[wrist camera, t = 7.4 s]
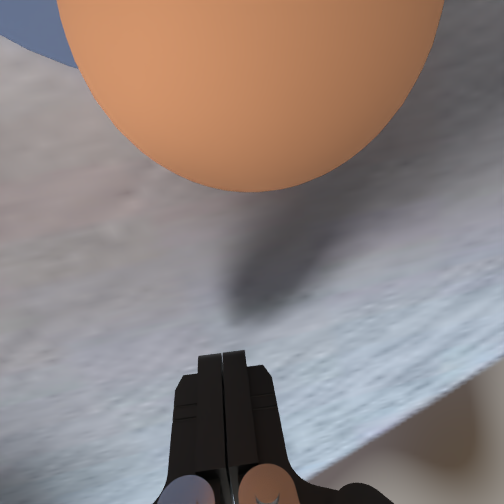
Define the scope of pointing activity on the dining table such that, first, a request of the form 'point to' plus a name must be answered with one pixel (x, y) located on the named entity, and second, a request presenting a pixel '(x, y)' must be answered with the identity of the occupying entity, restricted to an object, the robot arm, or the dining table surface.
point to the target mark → (36, 28)
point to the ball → (250, 80)
